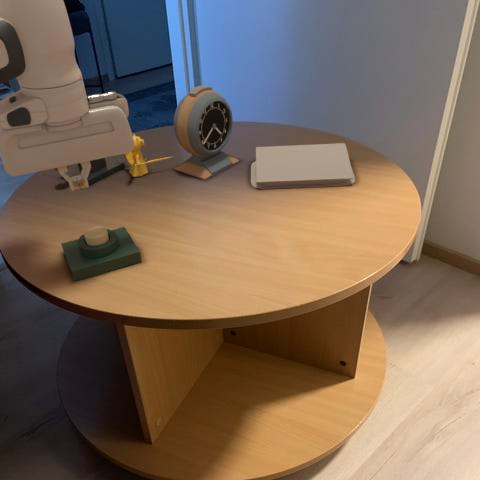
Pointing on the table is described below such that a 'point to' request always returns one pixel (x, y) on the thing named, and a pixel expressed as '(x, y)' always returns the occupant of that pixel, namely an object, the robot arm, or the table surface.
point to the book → (301, 166)
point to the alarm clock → (204, 132)
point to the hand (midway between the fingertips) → (79, 188)
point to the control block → (101, 254)
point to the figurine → (138, 158)
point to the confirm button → (96, 236)
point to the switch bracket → (98, 169)
